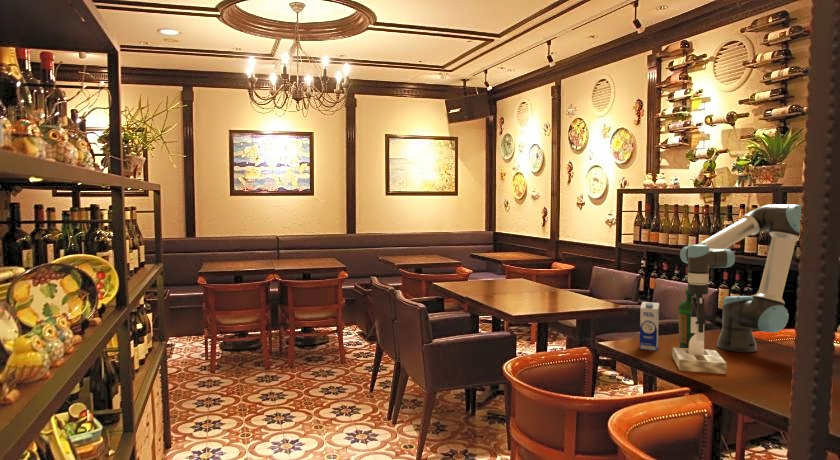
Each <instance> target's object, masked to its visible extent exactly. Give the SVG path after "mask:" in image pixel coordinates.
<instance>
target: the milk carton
mask: <svg viewBox="0 0 840 460" xmlns="http://www.w3.org/2000/svg"><path fill="white" fill-rule="evenodd" d="M639 317H640V320H639V350H643V351H644V350H645V351H653V352H657V350H658V348H659V322H660V319H659V318H660V303H659V302H650V301H649V302H648V301H642V302H641V304H640V315H639Z"/></svg>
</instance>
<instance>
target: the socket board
mask: <svg viewBox="0 0 840 460" xmlns="http://www.w3.org/2000/svg"><path fill="white" fill-rule="evenodd" d="M688 351H689V348H680V347H672V355H671V356H672V359H673V360H674V363H675V364H676V366H677V368H678V370H679V371H684V372H697V373H706V374H707V373H710V374H719V375H720V374H722V375H727V368H728V366H727V364H728V363H727V362H726V361H725V360H724V358H723V357H722V356H721V355H720V354H719V353H718V351H716V350H715V349H705V348H704V355H701V354H688Z"/></svg>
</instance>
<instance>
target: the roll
mask: <svg viewBox="0 0 840 460" xmlns="http://www.w3.org/2000/svg"><path fill="white" fill-rule="evenodd" d="M704 349H705V341H698V340H696V334H695V335H694V336H692V337H691V339H690V341H689V351H688V354H701V355H704Z"/></svg>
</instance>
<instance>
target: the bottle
mask: <svg viewBox="0 0 840 460" xmlns="http://www.w3.org/2000/svg"><path fill="white" fill-rule="evenodd" d="M684 294H686V299H684V300H683V301H681V302H680V303H679V305H678V306H677V310H678V311H677V313H678V314H677V315H678V336H679V337H678V338H679V339H678V341H679V342H678V343H679V348H689V341H690V339H691V337H692V336H694V335H695V334H696V333H691V317H692V316H691V314H690V309H691V299H692V295H691V294H690V293H688V287H686V288H685V292H684Z"/></svg>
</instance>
